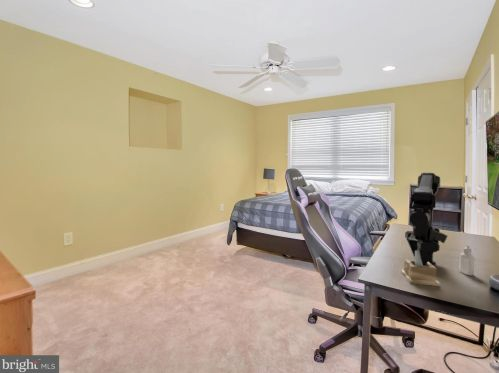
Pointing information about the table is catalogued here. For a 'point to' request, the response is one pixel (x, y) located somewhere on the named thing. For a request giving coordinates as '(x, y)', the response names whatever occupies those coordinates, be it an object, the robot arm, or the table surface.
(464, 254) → the eye dropper bottle
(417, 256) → the peg
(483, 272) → the table surface
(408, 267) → the bottle holder
